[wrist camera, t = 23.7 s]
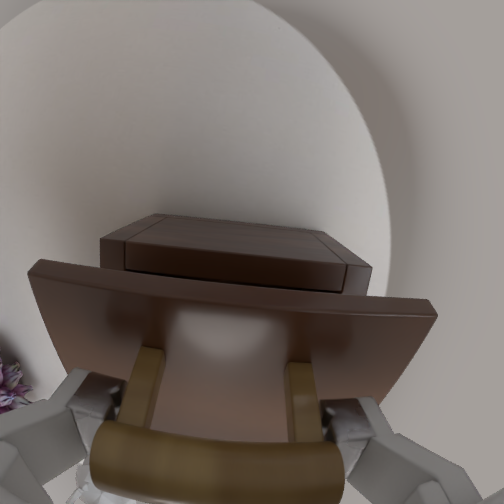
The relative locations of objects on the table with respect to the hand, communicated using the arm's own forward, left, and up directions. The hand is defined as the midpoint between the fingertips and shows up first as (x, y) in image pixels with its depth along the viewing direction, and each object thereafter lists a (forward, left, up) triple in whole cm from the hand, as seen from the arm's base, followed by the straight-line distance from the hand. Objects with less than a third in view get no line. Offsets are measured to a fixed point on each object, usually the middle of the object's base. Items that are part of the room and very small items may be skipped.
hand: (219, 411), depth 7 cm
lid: (+3, +3, -3) cm, 5 cm away
